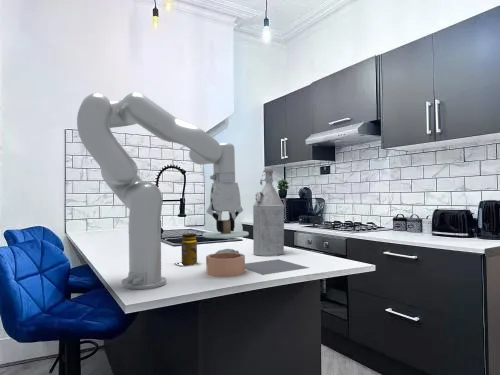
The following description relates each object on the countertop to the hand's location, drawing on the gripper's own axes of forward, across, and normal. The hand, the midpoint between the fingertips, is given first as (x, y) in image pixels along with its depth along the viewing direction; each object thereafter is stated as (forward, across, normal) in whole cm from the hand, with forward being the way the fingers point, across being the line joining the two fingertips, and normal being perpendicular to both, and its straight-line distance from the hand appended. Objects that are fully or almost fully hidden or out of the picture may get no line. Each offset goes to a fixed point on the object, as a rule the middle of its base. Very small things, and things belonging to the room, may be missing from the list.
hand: (225, 230), depth 123 cm
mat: (+15, +18, -1) cm, 23 cm away
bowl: (+15, 0, 0) cm, 15 cm away
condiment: (+15, -6, +23) cm, 28 cm away
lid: (+2, 0, 0) cm, 2 cm away
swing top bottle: (+15, +33, +24) cm, 43 cm away
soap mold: (+16, +12, +28) cm, 34 cm away
